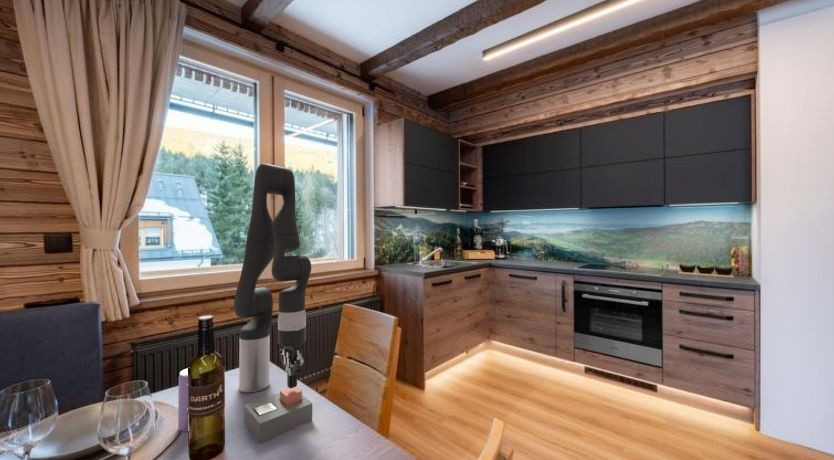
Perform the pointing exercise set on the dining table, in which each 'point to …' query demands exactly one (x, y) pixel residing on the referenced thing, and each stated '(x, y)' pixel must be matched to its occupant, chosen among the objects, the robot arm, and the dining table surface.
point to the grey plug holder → (276, 417)
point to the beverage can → (183, 401)
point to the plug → (265, 409)
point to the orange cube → (290, 396)
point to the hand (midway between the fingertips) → (292, 386)
